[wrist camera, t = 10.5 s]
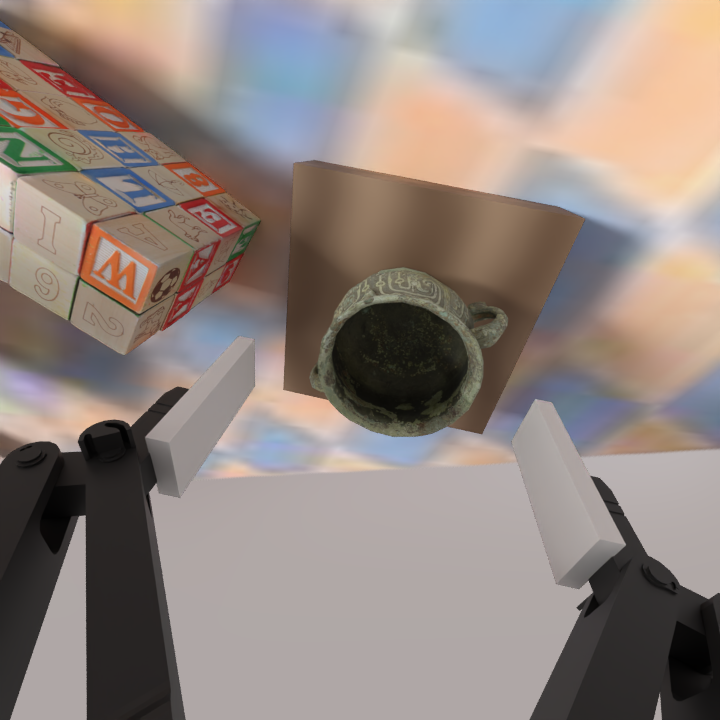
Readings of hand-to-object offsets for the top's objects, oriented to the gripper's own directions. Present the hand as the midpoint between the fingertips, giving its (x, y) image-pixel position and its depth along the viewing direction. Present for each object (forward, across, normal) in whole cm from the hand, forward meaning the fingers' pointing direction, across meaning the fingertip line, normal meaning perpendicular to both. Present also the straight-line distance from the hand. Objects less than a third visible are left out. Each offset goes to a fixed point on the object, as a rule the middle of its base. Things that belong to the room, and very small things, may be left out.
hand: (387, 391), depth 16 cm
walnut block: (+13, +1, 0) cm, 13 cm away
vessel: (+8, 0, 0) cm, 8 cm away
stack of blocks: (+13, -22, +6) cm, 26 cm away
